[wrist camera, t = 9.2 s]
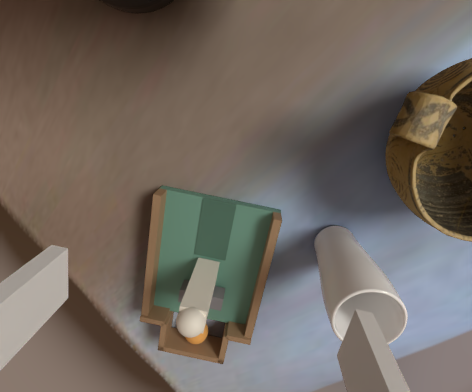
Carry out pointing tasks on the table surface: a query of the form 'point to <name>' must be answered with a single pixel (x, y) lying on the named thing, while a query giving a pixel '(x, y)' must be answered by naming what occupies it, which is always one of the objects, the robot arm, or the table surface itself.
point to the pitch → (212, 248)
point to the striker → (199, 298)
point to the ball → (199, 337)
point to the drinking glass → (355, 284)
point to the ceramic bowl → (436, 151)
